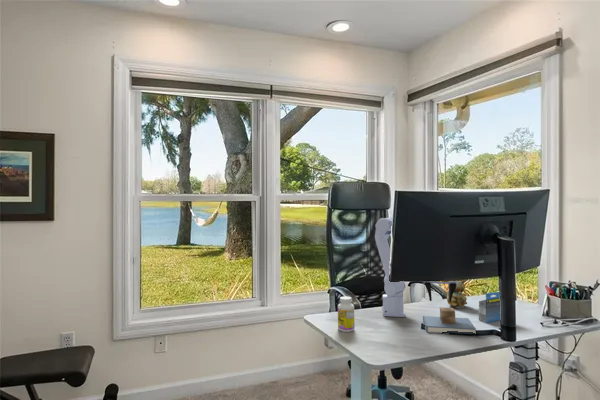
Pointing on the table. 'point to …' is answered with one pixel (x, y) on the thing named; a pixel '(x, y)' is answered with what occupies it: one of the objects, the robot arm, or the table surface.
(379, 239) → the robot arm
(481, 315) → the label tape box
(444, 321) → the walnut block
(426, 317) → the book
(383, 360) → the table surface
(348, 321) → the supplement bottle
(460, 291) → the decorative figurine
